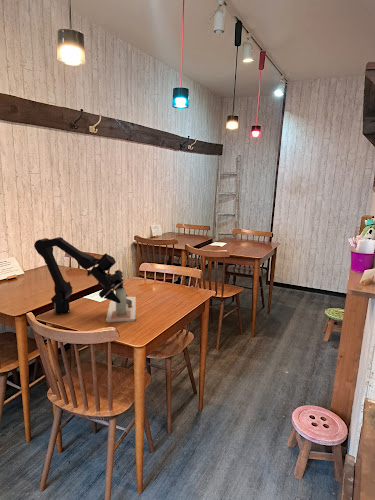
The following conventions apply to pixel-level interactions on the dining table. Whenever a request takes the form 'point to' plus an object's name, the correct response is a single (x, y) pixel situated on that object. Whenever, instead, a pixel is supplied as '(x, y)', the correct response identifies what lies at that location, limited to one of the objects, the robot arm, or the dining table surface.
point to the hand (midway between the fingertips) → (123, 299)
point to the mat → (120, 316)
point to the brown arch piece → (129, 303)
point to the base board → (133, 310)
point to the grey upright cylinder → (122, 305)
